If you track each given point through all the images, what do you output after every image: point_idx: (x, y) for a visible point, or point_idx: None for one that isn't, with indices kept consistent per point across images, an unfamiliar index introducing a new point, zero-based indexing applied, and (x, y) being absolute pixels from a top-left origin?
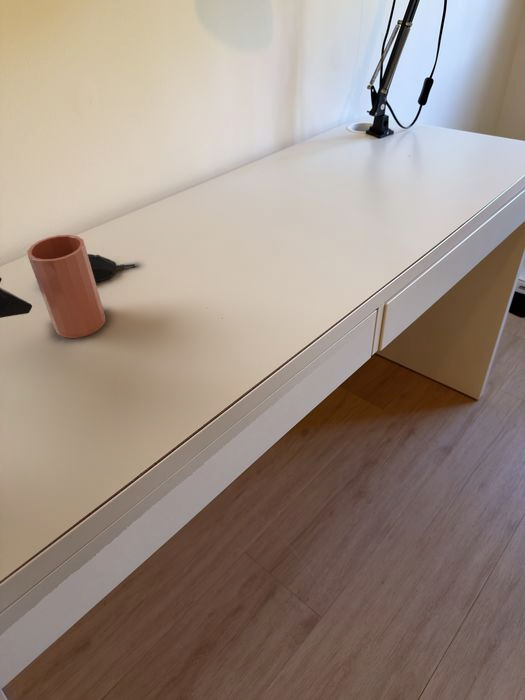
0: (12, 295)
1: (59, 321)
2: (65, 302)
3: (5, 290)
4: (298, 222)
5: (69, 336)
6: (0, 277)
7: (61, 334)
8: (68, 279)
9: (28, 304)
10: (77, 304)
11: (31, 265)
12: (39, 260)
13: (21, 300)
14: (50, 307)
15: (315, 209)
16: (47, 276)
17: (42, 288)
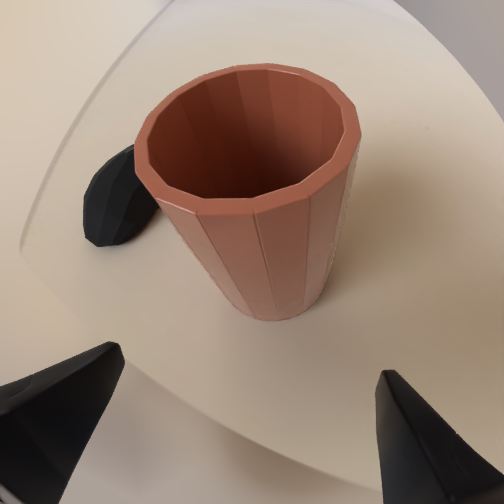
0: (457, 435)
1: (292, 306)
2: (326, 263)
3: (440, 457)
4: (295, 15)
5: (304, 310)
6: (113, 343)
7: (284, 318)
8: (347, 199)
9: (404, 381)
10: (336, 245)
11: (212, 240)
12: (294, 199)
13: (427, 403)
14: (276, 299)
15: (287, 6)
16: (309, 237)
17: (261, 279)
